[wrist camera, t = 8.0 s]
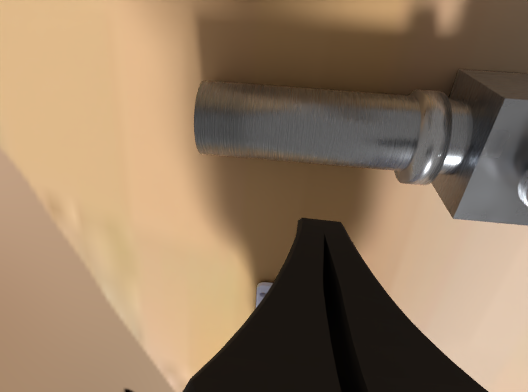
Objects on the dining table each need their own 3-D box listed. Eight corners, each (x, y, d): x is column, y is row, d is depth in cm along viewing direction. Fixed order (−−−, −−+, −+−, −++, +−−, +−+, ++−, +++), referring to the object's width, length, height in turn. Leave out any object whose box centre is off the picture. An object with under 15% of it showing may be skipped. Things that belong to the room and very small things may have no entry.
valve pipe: (757, 198, 19) (874, 257, 15) (213, 152, 20) (192, 194, 17) (860, 96, 16) (1041, 137, 12) (209, 52, 17) (183, 75, 13)
